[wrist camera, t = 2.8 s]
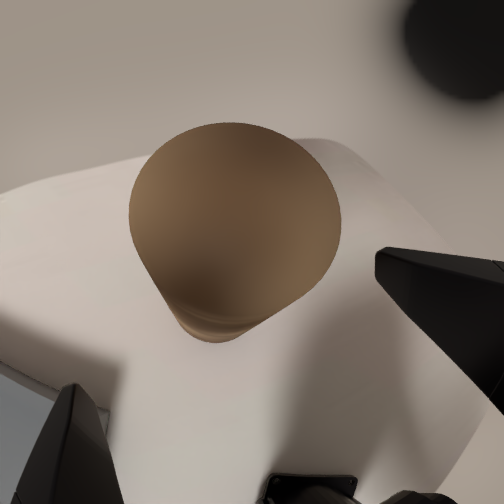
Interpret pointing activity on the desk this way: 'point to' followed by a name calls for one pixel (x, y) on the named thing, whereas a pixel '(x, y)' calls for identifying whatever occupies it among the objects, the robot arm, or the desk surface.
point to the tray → (23, 423)
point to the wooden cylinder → (233, 226)
